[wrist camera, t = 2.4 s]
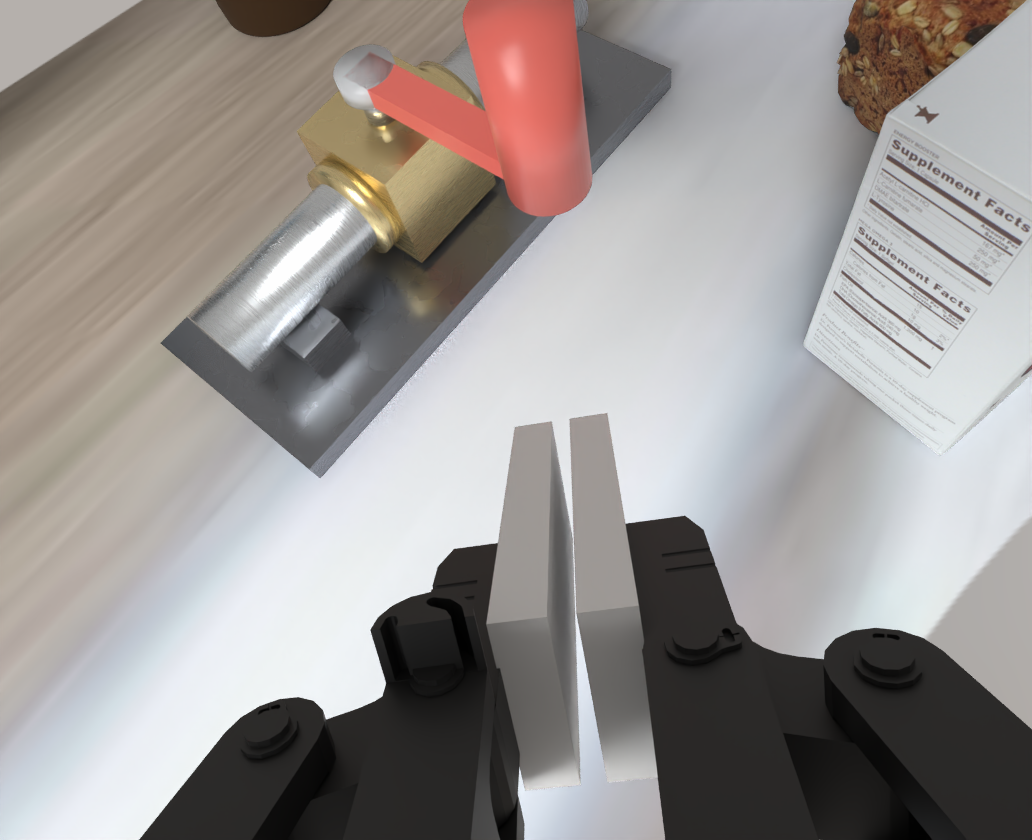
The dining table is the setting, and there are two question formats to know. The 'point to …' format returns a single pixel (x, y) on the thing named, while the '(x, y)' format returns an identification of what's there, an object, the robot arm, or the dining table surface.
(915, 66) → the bread
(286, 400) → the valve pipe
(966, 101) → the supplement box
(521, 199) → the lever
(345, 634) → the dining table surface
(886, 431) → the dining table surface
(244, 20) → the olive oil
